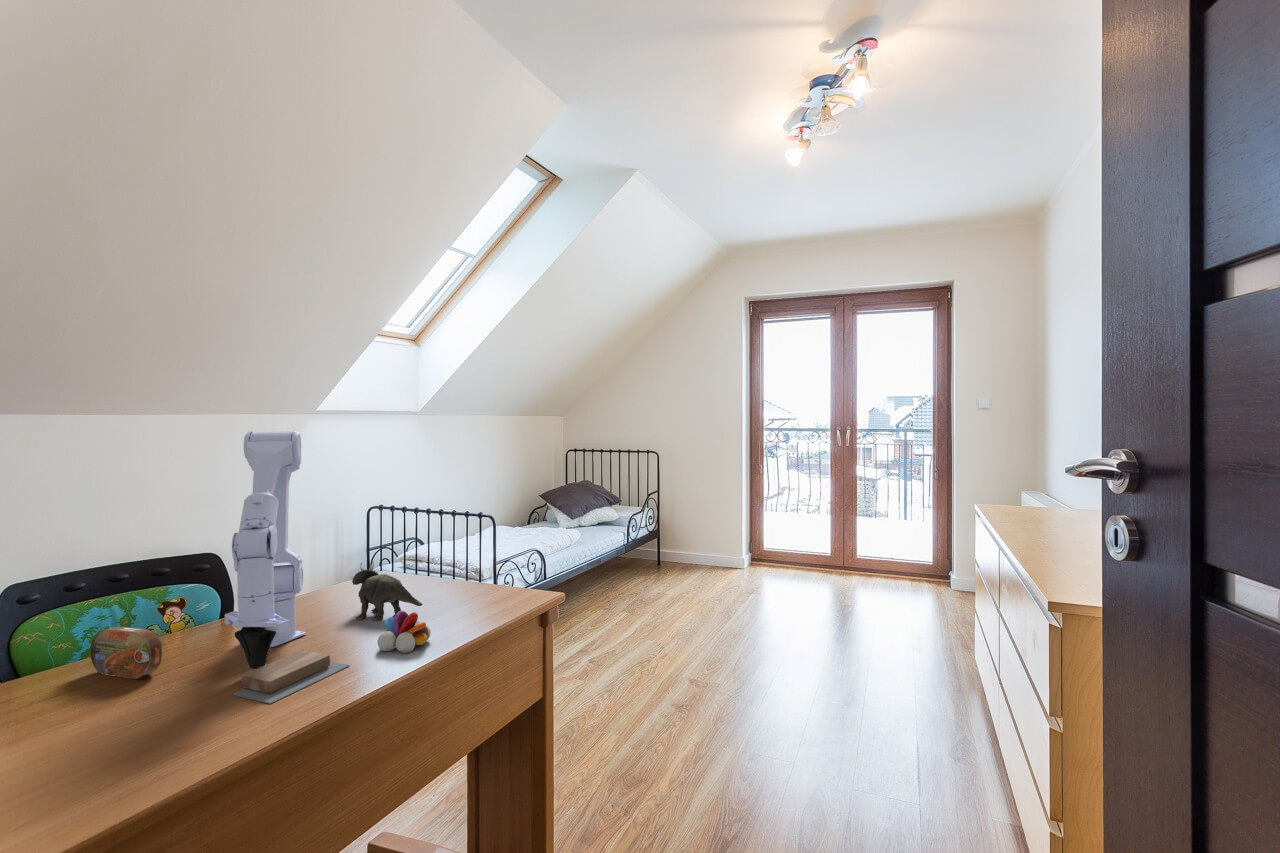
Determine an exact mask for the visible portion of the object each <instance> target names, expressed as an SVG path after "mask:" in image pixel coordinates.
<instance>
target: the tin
mask: <svg viewBox="0 0 1280 853" xmlns="http://www.w3.org/2000/svg"><path fill="white" fill-rule="evenodd" d="M162 644H163V643H162V641H161V639H160V637H159V636H158V634H157V633H156V632H154V631H153V630H150V629H145V628H136V627H135V628H134V627H126V626H114V627H110V628H106V629H105V628H104V629H101V630H99V631H97V633H96V634H95V635H94V636H93V639H92V641H91V644H90V651H89V652H90V659H91V662H92V665H93V667H94V669H95V670H96V671H97V672H98V674H100V673H103V674H108V675H115V676H119V677H118V678H121V677H124V678H123V679H129V680H138V679H141V678H142V677H146V676H149V675H151V674H153V673H155V671H157V670H158V668H160V665H161V664H162V656H163V648H162V647H163V645H162Z"/></svg>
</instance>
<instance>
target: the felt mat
mask: <svg viewBox="0 0 1280 853" xmlns="http://www.w3.org/2000/svg"><path fill="white" fill-rule="evenodd" d="M350 666H351V665H350V664H346V663H341V662H336V661H331V660H330V666H328V667H326V668H325V669H323V670H320V671H318V672H316V673H314V674H312V675H310V676H307V677H305V678H303V679H301V680H299V681H297V682H294V683H292V684H290V685H288V686H286V687H284V688H281V689H279V690H277V691H275V692H273V693H266V692H261V691H257V690H253V689H248V688H243V689H241V690H239V691H237V692H234V693H232V696H235V697H238V698H243V699H248V700H252V701H256V702H260V703H265V704H267V705H268V704H269V705H273V704H274V703H276V702H278V701H280V700H282V699H284V698H286V697H288V696H290V695H293V694H295V693H297V692H299V691H301V690H303V689H305V688H307V687H309V686H311V685H313V684H316V683H318V682H319V681H322V680H324V679H325V678H328V677H330V676H332V675H335V674H337V673H338V672H341V671H343V670H344V669H347V668H349V667H350Z"/></svg>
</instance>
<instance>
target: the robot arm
mask: <svg viewBox="0 0 1280 853" xmlns="http://www.w3.org/2000/svg"><path fill="white" fill-rule="evenodd" d="M243 455H244V457H245V459H246V461H247V464H248V465H249V467H250V469H251V471H253V473H252V474H253V476H252V492H251V494H249V495H248V496H246V498H245V499H243V506H242V511H241V516H240V523H239V527H238V528H239V529H238V532H234V533H233V535H232V540H231V554H232V559H233V568H234V572H236V585H237V590H236V591H237V594H236V597H237V611H236V610H234V611H230V612H228V613H225V614H224V625H225V626H226V625H227V626H229V625H230V626H232V628H236V629H239V630H237V631H235V632H234V638H235V639H236V640H238V642H239V644H240V646H241V647H242V649H243V652H244V654H245V657H246V661H247V664H248V666H249V669H252V670H256V669H258V668H261V667H263V666H265V665H266V662H267V658H268V654H269V652H270V651H269V650H270V648H273V647H277V646H279V645H283V644H284V643H287V642H290V641H292V640H295V639H298V638H300V637H303V636H305V635H306V634H307V632H306V631H301V630H297V617H296V614H297V611H296V608H297V604H296V595H297V594H300V593H301V591H302V590H303V585H304V568H303V559H302V557H301V556H300V555H299V554H298V553H296V552H294V551H292V550H290V548H289V546H288V545H289V498H290V497H289V496H290V495H289V494H290V488H289V487H290V480H291V476H292V473H294V472H295V471H298V470H300V469H301V464H302V439H301V434H300V433H299V431H298V430H293V431H292V430H291V431H289V430H288V431H287V430H286V431H283V430H282V431H252V430H250V431H247V433H245V435H244V438H243ZM283 563H287V564H283ZM288 563H289V564H288ZM274 564H282V565H274Z"/></svg>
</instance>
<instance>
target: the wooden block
mask: <svg viewBox="0 0 1280 853" xmlns="http://www.w3.org/2000/svg"><path fill="white" fill-rule="evenodd" d="M330 661H331V655H330V654H327V653H320V652H315V651H310V650H305V649H304V650H303V649H302V650H300V651H297V652H294V653H293V654H290V655H288V656H286V657H283V658H280V659H278V660H276V661H272V662H271V663H269V664H265V665H264V666H261V667H259V668H257V669H252V670H251V671H248V672H246V673H244V674H241V676H240V677H241V678H240V679H241V680H240V682H241V688H243V689H246V688H248V689H253V690H257V691H261V692H266V693H273V692H275V691H277V690H279V689H281V688H284V687H286V686H288V685H290V684H292V683H294V682H297V681H299V680H301V679H303V678H305V677H307V676H310V675H312V674H314V673H316V672H318V671H320V670H323V669H325V668H326V667H328V666H330Z"/></svg>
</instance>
